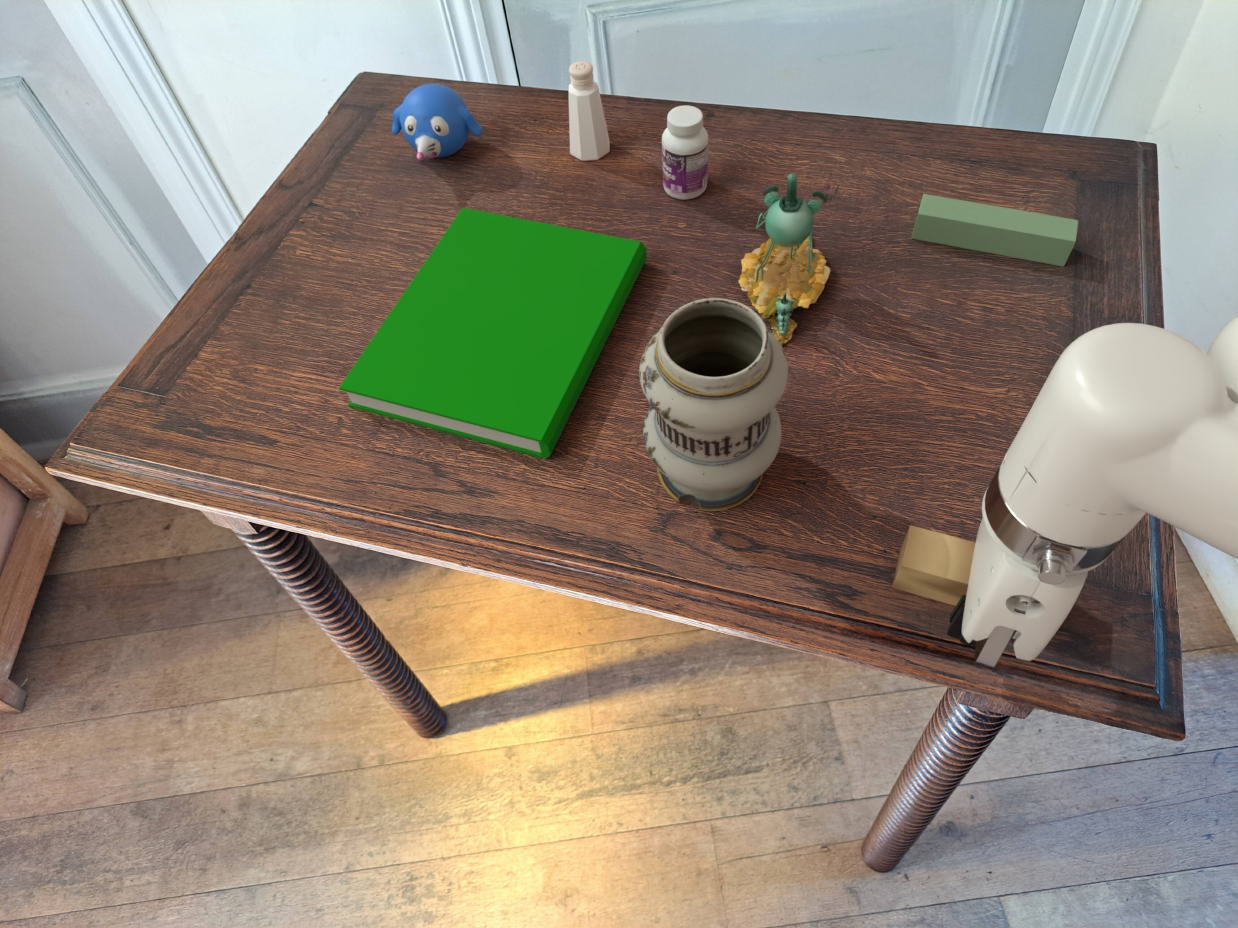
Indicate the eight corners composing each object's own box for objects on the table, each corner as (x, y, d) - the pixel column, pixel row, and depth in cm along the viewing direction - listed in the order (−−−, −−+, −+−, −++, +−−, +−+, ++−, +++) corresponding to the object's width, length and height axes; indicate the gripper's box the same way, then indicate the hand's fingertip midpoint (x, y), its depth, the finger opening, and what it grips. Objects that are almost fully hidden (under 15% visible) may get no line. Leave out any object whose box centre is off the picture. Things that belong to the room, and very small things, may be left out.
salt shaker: (577, 167, 106) (567, 85, 97) (562, 143, 109) (550, 61, 100) (617, 154, 107) (611, 71, 98) (601, 131, 110) (593, 49, 101)
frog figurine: (711, 334, 89) (717, 210, 78) (758, 238, 100) (770, 117, 89) (801, 355, 86) (822, 229, 75) (840, 254, 97) (863, 131, 86)
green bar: (1066, 245, 93) (1078, 220, 90) (1064, 267, 91) (1076, 241, 88) (916, 218, 97) (923, 193, 94) (911, 239, 95) (917, 213, 92)
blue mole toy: (382, 187, 107) (360, 127, 100) (407, 129, 113) (389, 69, 107) (474, 190, 105) (459, 129, 98) (495, 131, 112) (482, 71, 105)
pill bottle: (653, 185, 103) (650, 114, 95) (688, 167, 105) (688, 95, 97) (681, 208, 101) (680, 136, 93) (716, 189, 102) (718, 116, 94)
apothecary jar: (627, 502, 78) (613, 374, 63) (669, 403, 84) (664, 266, 69) (756, 538, 75) (772, 412, 60) (789, 433, 81) (812, 295, 66)
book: (348, 406, 87) (338, 387, 84) (468, 228, 101) (462, 207, 99) (551, 460, 81) (546, 441, 79) (646, 263, 96) (645, 242, 93)
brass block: (1048, 588, 70) (1065, 566, 67) (1043, 631, 68) (1060, 610, 65) (900, 548, 74) (910, 524, 70) (891, 587, 72) (901, 565, 68)
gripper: (1119, 640, 45) (1009, 743, 60) (1132, 424, 52) (1031, 563, 68) (971, 598, 47) (900, 708, 62) (1004, 395, 54) (934, 537, 69)
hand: (969, 632), depth 65 cm, fingers closed
